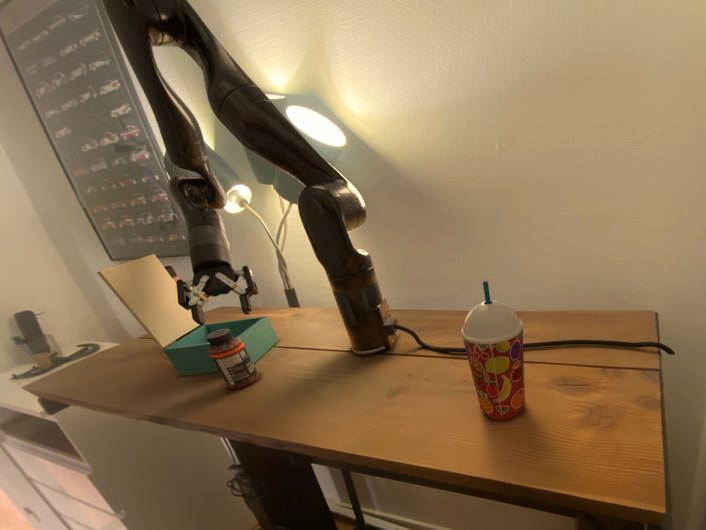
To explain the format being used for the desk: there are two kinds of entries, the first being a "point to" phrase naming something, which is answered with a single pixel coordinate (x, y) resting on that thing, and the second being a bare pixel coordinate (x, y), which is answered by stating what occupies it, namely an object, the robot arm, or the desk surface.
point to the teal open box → (193, 347)
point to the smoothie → (495, 356)
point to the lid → (150, 298)
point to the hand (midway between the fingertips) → (224, 318)
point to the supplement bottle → (231, 359)
